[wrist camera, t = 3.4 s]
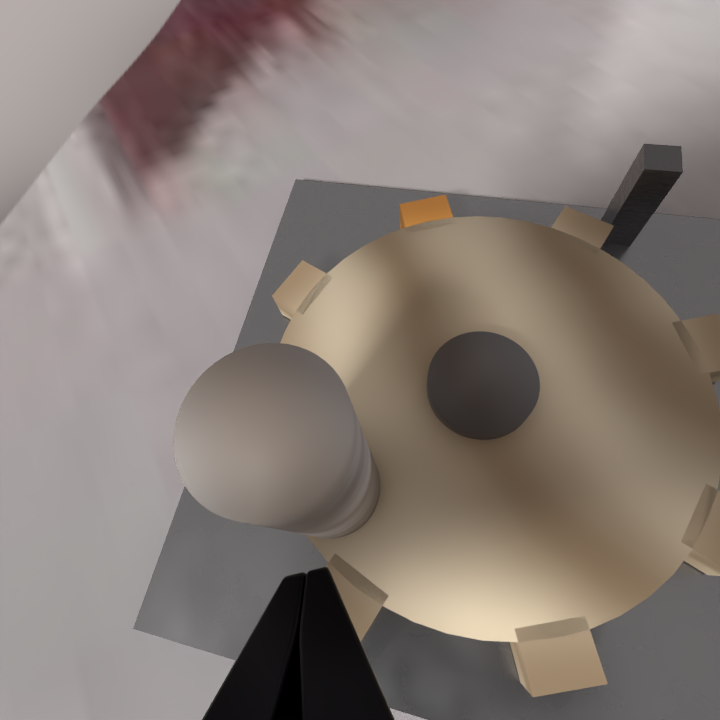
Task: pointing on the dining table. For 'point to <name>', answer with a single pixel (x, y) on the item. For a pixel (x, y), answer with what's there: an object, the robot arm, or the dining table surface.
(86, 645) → the dining table surface
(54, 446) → the dining table surface
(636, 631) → the bearing plate
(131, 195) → the dining table surface
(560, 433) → the turntable
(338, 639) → the robot arm
